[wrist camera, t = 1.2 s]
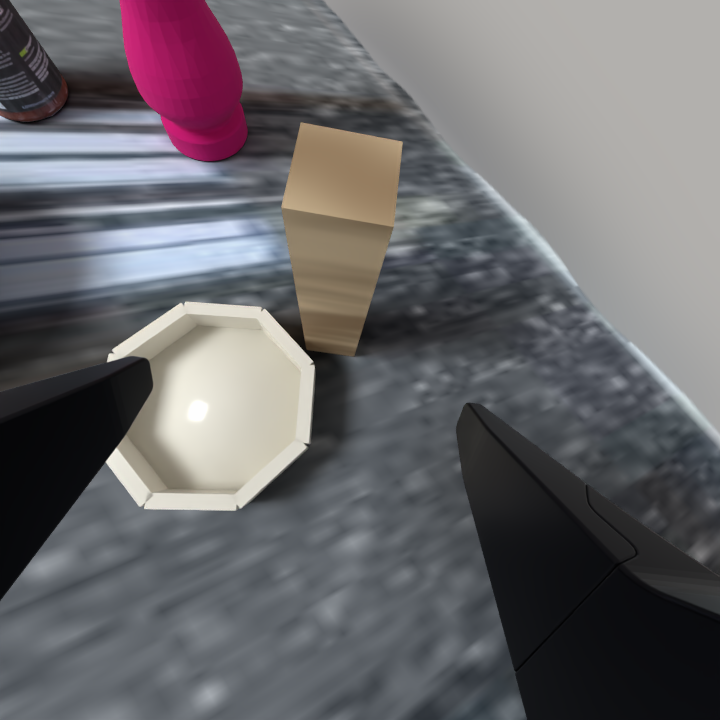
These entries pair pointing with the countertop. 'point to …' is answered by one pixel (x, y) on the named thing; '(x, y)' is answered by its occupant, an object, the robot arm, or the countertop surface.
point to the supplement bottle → (26, 72)
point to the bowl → (215, 408)
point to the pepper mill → (186, 74)
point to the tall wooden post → (338, 229)
